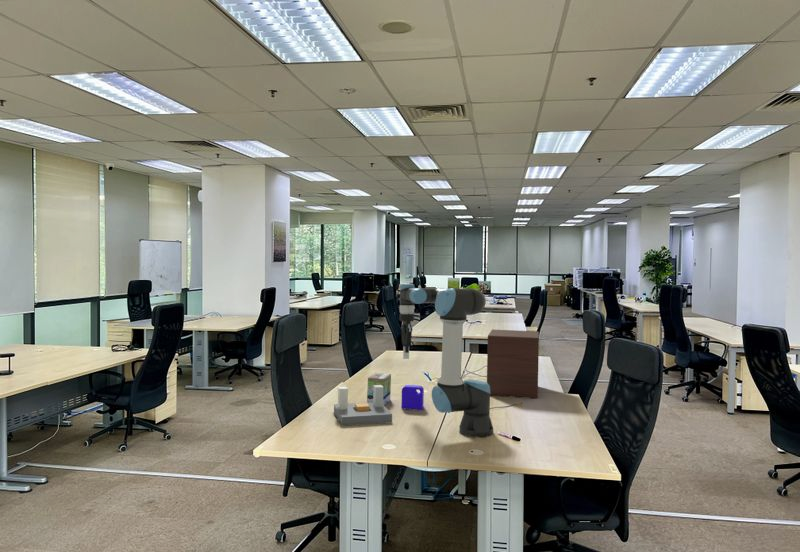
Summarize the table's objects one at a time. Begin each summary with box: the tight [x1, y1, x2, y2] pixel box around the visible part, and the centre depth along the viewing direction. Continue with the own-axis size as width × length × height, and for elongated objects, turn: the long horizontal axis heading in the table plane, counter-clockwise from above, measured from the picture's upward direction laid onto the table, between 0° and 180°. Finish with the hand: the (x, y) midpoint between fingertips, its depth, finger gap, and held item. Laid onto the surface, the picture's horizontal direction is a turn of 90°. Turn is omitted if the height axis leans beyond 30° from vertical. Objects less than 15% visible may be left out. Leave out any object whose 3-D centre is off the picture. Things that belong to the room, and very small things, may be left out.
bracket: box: [401, 384, 425, 411], centre depth 284 cm, size 18×11×12 cm, turn 168°
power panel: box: [333, 402, 393, 427], centre depth 259 cm, size 24×24×4 cm
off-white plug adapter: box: [337, 385, 349, 410], centre depth 261 cm, size 5×4×10 cm
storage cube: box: [486, 329, 540, 399], centre depth 324 cm, size 35×29×35 cm
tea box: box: [366, 372, 392, 406], centre depth 289 cm, size 15×10×15 cm
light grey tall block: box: [373, 385, 384, 408], centre depth 266 cm, size 5×4×10 cm
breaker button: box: [355, 402, 370, 412], centre depth 259 cm, size 6×6×5 cm
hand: (406, 358), depth 276 cm, fingers closed
